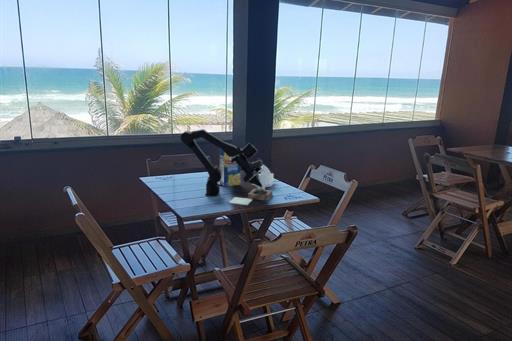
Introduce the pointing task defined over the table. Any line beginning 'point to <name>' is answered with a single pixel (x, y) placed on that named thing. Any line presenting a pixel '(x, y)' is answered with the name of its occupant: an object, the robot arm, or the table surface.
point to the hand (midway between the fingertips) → (263, 185)
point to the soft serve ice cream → (268, 176)
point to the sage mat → (240, 201)
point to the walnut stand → (260, 195)
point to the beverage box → (229, 170)
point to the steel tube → (262, 180)
